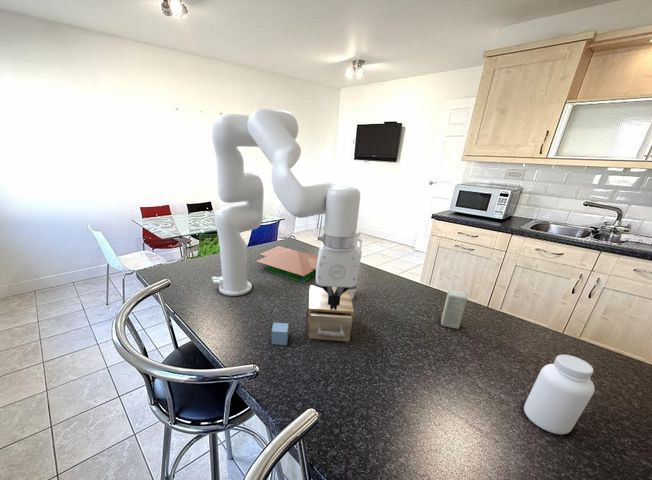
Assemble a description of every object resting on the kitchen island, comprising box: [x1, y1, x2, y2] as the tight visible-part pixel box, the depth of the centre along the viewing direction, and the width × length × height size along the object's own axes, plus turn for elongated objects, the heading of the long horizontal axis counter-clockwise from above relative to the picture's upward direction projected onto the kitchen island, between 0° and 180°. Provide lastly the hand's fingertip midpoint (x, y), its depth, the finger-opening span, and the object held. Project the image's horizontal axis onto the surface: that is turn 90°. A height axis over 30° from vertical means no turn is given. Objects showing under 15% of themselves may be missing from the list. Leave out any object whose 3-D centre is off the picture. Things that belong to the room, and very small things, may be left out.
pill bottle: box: [523, 354, 595, 435], centre depth 59 cm, size 8×8×15 cm
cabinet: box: [306, 285, 355, 340], centre depth 91 cm, size 15×13×10 cm
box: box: [440, 289, 468, 330], centre depth 92 cm, size 5×4×11 cm
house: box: [255, 245, 318, 283], centre depth 133 cm, size 23×33×8 cm
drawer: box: [308, 311, 353, 342], centre depth 86 cm, size 18×11×8 cm, turn 174°
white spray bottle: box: [349, 230, 363, 301], centre depth 105 cm, size 7×12×25 cm, turn 131°
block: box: [271, 322, 290, 346], centre depth 84 cm, size 4×4×4 cm
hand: (333, 306), depth 78 cm, fingers closed
